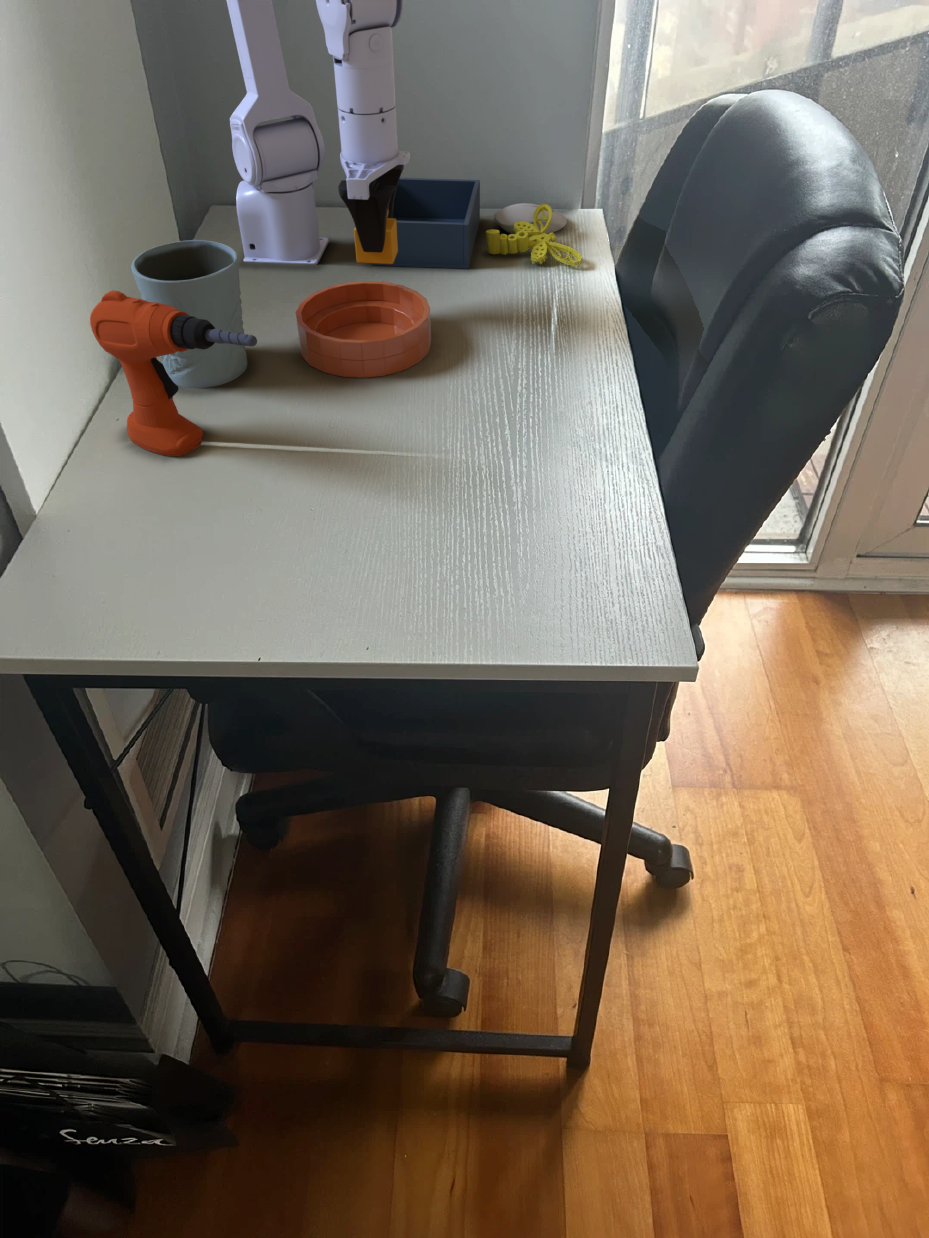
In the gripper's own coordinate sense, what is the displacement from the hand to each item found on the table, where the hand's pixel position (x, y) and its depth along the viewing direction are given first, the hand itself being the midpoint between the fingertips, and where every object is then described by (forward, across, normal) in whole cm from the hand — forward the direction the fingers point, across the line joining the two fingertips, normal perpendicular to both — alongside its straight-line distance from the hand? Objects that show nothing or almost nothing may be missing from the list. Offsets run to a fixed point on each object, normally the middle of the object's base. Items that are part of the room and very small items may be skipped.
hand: (376, 243), depth 102 cm
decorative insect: (+8, +16, -16) cm, 24 cm away
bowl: (+9, -7, +1) cm, 11 cm away
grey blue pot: (+9, -13, +16) cm, 23 cm away
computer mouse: (+9, +28, -15) cm, 33 cm away
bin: (+9, +22, -2) cm, 24 cm away
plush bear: (+2, 0, 0) cm, 2 cm away
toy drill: (+9, -28, +12) cm, 32 cm away
